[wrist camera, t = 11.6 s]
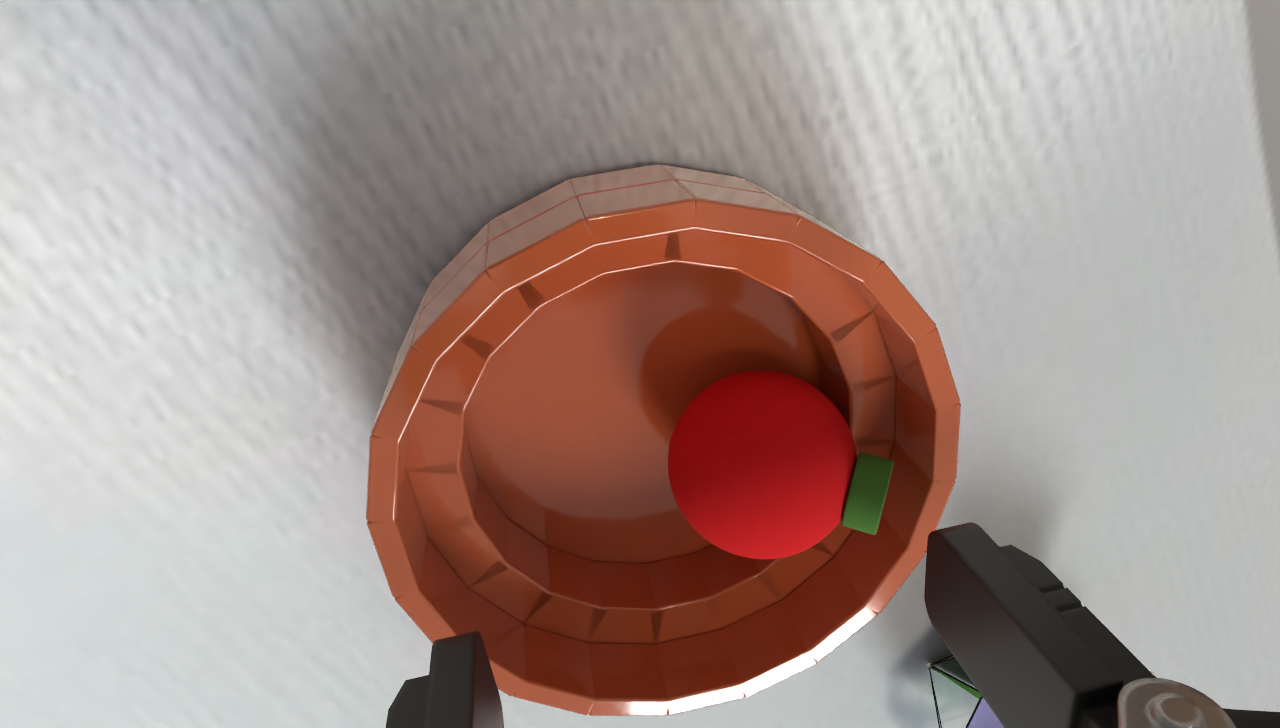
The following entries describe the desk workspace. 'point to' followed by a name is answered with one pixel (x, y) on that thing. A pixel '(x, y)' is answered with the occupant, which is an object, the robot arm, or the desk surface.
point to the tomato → (771, 467)
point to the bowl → (643, 440)
